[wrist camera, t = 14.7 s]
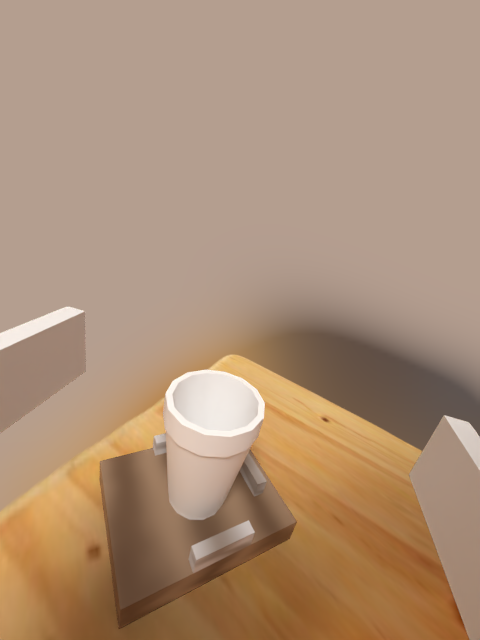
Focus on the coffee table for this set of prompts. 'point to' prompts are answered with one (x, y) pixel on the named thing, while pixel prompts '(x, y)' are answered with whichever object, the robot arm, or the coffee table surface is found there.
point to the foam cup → (208, 438)
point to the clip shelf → (180, 530)
